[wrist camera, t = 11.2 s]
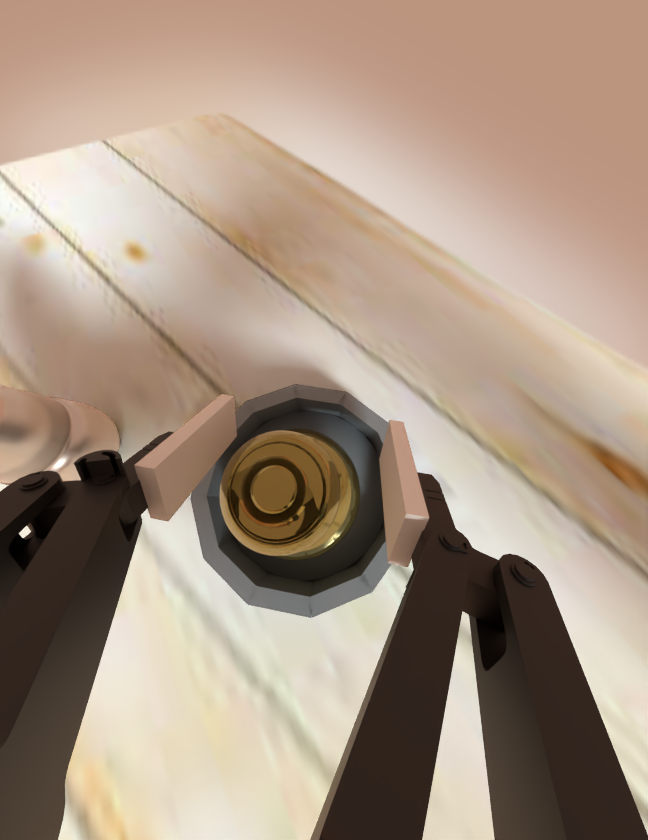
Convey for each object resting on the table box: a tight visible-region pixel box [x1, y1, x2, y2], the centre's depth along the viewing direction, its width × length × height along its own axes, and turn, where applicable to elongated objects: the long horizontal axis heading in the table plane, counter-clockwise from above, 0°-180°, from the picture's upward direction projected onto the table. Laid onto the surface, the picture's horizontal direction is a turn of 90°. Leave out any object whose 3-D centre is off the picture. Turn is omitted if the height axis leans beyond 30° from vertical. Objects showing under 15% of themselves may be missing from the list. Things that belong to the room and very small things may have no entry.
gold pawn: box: [220, 428, 360, 560], centre depth 14 cm, size 7×7×10 cm
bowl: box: [191, 384, 391, 618], centre depth 19 cm, size 14×14×4 cm
